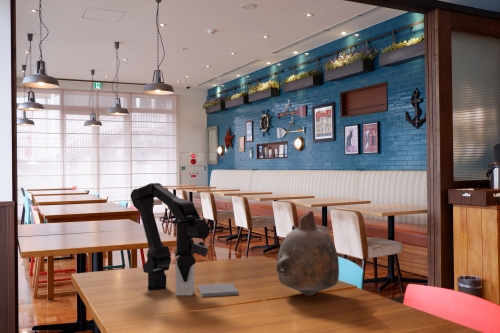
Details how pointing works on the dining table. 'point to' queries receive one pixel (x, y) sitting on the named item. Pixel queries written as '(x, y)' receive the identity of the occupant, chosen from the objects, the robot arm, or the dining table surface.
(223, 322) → the dining table surface
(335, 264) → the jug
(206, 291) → the slate tile
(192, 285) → the skincare box
